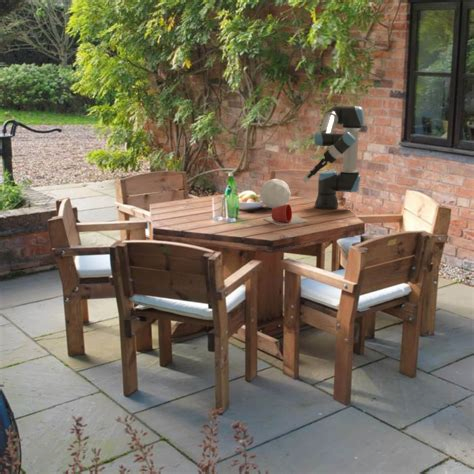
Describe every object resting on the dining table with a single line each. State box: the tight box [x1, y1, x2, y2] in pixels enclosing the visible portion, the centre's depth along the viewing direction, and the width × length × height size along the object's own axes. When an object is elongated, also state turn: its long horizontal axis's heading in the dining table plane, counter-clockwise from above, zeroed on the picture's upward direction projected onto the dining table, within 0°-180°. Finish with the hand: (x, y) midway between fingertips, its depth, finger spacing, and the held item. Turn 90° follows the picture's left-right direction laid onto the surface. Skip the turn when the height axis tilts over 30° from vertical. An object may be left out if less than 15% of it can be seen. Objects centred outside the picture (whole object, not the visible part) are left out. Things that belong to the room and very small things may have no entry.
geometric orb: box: [259, 178, 292, 210], centre depth 466 cm, size 19×20×20 cm
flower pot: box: [271, 203, 293, 222], centre depth 429 cm, size 11×11×10 cm
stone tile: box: [262, 214, 309, 227], centre depth 435 cm, size 20×18×1 cm
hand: (305, 178), depth 427 cm, fingers open, 13 cm apart
